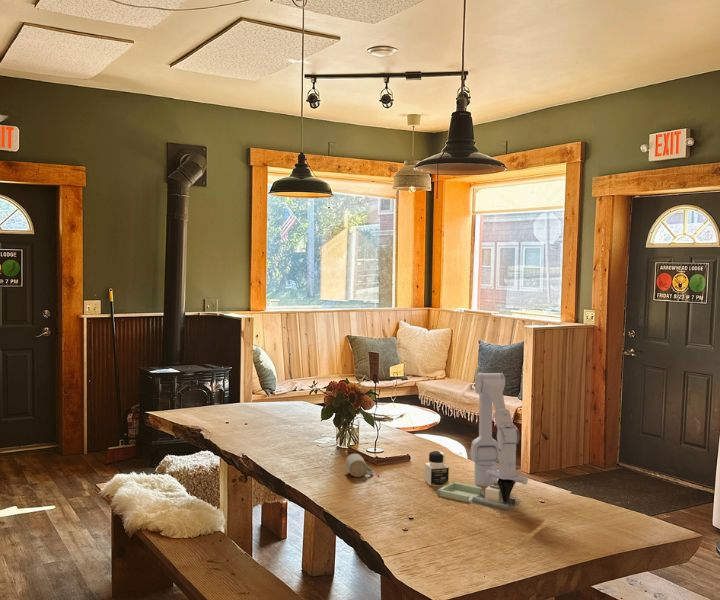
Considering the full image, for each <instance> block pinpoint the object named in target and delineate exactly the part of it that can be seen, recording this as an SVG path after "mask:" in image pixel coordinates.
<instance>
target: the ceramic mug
mask: <svg viewBox="0 0 720 600" xmlns="http://www.w3.org/2000/svg"><path fill="white" fill-rule="evenodd" d="M344 466H345V468H346V469H347V471H348V472H349V474H350V475H351V476H353V478H354V477H355V478H361V477H362V476H364V475H367V476H368V475H369V476H373V474H374V470H373V469H372V468H370V467H368V466H367V463H366V462H365V459H364V458H363V457H362V455H361V454H359V453H351V454H349V455H348V456H347V457H346V459H345V462H344Z"/></svg>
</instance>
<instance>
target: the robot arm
mask: <svg viewBox="0 0 720 600" xmlns="http://www.w3.org/2000/svg"><path fill="white" fill-rule="evenodd" d="M505 386H506V377H505V375H504V374H503V372H478V373H477V374H476V376H475V379H474V390H475V392H474V393H475V394H478V395H479V397H478V398H479V400H478V401H479V403H478V405H479V409H478V410H479V413H478V437H476V438H474V439H473V440H472V441H471V445H470V446H471V447H470V452H469V455H470V459H471V461H472V462H473V463H474V477H473V478H474V479H473V481H474V482H473V483H474V485H475V486H477V487H489V486H490V485H495V484H497V486H499V488H500V490H501V493H502V497H503V501H508V500H509V497H511V492H512V491H513V488H514V486H515V485H516V483H520V484H522V485H527V484H528V480H529V479H528V477H526V476H523V475H520V474H517V473H516V465H517V464H516V460H517V444H519V442H520V432H519V428H518V427H517V425H516V424H514V423H513V419H512V416H511V412H510V410H509V409H508V408H506V403H505V398H504V393H503V392H504V390H505ZM493 408H494V411H495V412H494V413H493ZM493 418H494V421H495V426H496V428H497V432H496V439H494V438H493ZM497 462H498V465H497Z"/></svg>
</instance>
